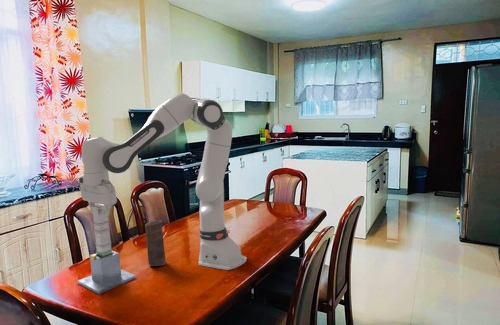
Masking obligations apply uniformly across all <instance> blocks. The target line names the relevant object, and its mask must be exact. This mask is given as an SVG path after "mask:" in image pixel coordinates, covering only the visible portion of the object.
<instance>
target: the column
mask: <svg viewBox="0 0 500 325" xmlns="http://www.w3.org/2000/svg"><path fill="white" fill-rule="evenodd" d="M104 210H105V207H104V204H97V205H96V204H95V206H92V211H93V212H92V218H93V222H92V224H93V227H94V228H93V231H94V237H95V238H94V239H95V247H96V250H95V251H96V252H95V254H96V253H97V257H100V258H104V257H106V256H109V255H112V251H113V249H112V241H111V232H110V231H111V227H110V225H109V224H110V220H109V215H107V216H106V215H104V213H103V211H104Z"/></svg>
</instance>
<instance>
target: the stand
mask: <svg viewBox="0 0 500 325" xmlns="http://www.w3.org/2000/svg"><path fill="white" fill-rule="evenodd" d="M89 261H90V270H91V275H89V276H85V277H84V278H81V279H79V280H77V284H78V285H79V286H82V287H84V288H86V290H89V291H92V292H93V293H95V294H97V295H101V294H102V293H103V294H104V293H106V292H108V291H110V290H113V289H114V288H117V287H119V286H122V285H123V284H125V283H128V282H130V281H133V280H135V279H137V276H136V274H134V273H131V272H128V271H127V270H123V269H121V260H120V253H119V252H117V251H114V250H112V255H109V256H106V257H104V258H100V257H97V253H96V252H95V253H93V254H90V255H89Z"/></svg>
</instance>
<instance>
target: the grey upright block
mask: <svg viewBox="0 0 500 325" xmlns="http://www.w3.org/2000/svg"><path fill="white" fill-rule="evenodd" d="M144 228H145V237H146V251H147V261H148V265H149V266H151V267H158V266H165V265H166V264H167V261H166V252H165V242H164V231H163V222H162V220H159V219H158V220H156V219H155V220H150V221H148V222H146V223H145V224H144Z"/></svg>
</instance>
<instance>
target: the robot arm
mask: <svg viewBox="0 0 500 325" xmlns="http://www.w3.org/2000/svg"><path fill="white" fill-rule="evenodd" d="M188 120H192V121H194V123H195V124H196V123H197V124H198V125H200V126H205V127H206V131H207V132H206V139H205V144H204V150H203V155H202V160H201V162H200V166H199V167H200V168H199V171H198V176H197V180H196V183H195V194H196V197H197V198H198V199H199V210H198V211H199V212H198V213H199V225H200V227H199V238H200V244H199V245H200V246H199V255H198V266H202V267H205V268H206V267H207V268H213V269H218V270H224V271H229V270H233V269H236V268H239V267H240V266H242V265H243V264H245V263H246V262H247V259H248V258H247V256H245V255H243V254H242V250H241V247H240V246H239V245H238V244H237V243H236V242H235V241H234V240H233V239H232V238H231V237H230V236H229V234H230V231H231V230H227V227H226V224H225V188H224V187H225V186H224V183H225V182H224V179H225V174H226V169H227V165H228V162H229V161H228V160H229V158H230V152H231V146H232V140H233V125H232V123H231V122H230V120H227V119H226V118H225V116H224V110H223V108H222V106H221V105H220V103H219V102H217V101H216V100H212V99H209V98H202V99H201V98H199V99H192V98H191V97H190V96H189V95H188V94H186V93H177V94H175V95H174V96H172V97H171V98H170V97H169V99H167V100H166V101H164V102H163V103H161V104H160V105H159V106H158V107H157V108H156V109H154V111H152V113H151V114H150V115H149V116H148V118H147V120H146V122H145V124H143V126H142V128H140V129H139V130H138V131H137V132H135V134H133V135H132V136H131V137H129V138H128V139H127V140H126V141H125V142H123V143H121V144H120V143H115V142H113V141H110V140H107V139H106V138H104V137H102V136H96V137H93V138H88V139H85V140H84V141H82V142H83V143H82V144H81V159H82V164H83V175H82V176H81V177H79V178H78V183H79V184H80V185H79V189H80V195H81V199H82V200H83V201H84V202H85V201H86V202H88V203H87V204H88V206H89V207H90V208H89V209H90V212H91V213H93V211H92V206H96V204H98V205H100V204H104V207H105V210H104V211H103V213H104V215H106V216H107V215H108V216H110V214H111V211H110V210H111V207H112V205H116V204H117V202H118V199H117V193H116V188H115V186H114V185H113V183H112V182H111V181H110V175H109V172H110V173H113V174H122V173H124V172H126V171H127V170H128V169H129V168H130V167H131V166H132V163H133V162H134V159H135V158H136V157H137V155H139V154H140V153H141V152H143V150H145V148H147V147H148V146H149V145H151V144H152V143H153V142H154V141H156V140H158V139H159V138H162V137H164V136H167V135H168V134H170V133H172V132H173V131H175V130H176V129H177V128H179V127H180V126H181V125H182V124H183V123H184V122H186V121H188Z"/></svg>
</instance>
